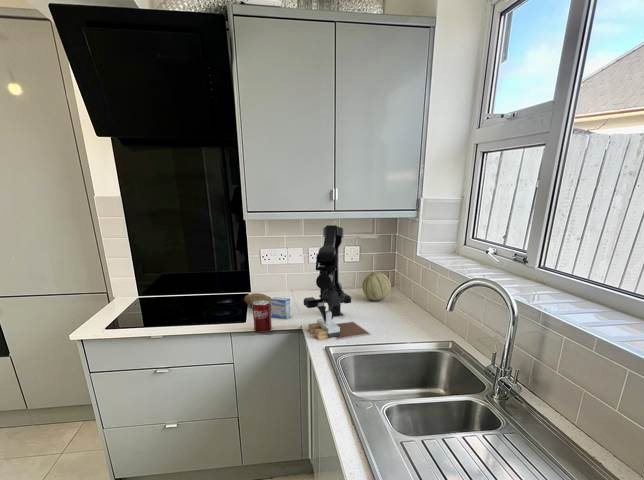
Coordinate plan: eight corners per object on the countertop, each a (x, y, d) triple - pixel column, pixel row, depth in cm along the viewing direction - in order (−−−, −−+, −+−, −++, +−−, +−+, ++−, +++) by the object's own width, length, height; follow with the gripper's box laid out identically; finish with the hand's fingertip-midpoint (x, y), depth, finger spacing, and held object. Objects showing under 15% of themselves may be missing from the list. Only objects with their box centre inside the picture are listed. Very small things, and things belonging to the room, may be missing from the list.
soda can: (266, 333, 167) (264, 305, 162) (251, 331, 169) (248, 304, 165) (274, 328, 173) (273, 301, 169) (259, 326, 176) (257, 299, 171)
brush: (317, 327, 172) (316, 308, 169) (327, 325, 174) (327, 306, 171) (328, 337, 161) (328, 316, 158) (339, 335, 163) (339, 315, 160)
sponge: (277, 314, 196) (269, 295, 212) (274, 300, 191) (266, 282, 207) (251, 321, 194) (245, 302, 209) (247, 307, 189) (241, 289, 204)
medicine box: (271, 317, 188) (270, 299, 184) (275, 314, 191) (274, 296, 188) (286, 318, 185) (285, 300, 182) (290, 316, 189) (290, 298, 186)
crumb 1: (308, 330, 170) (308, 323, 169) (317, 329, 172) (317, 322, 171) (312, 333, 167) (311, 326, 166) (321, 332, 168) (320, 325, 167)
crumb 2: (315, 336, 164) (314, 329, 163) (324, 335, 165) (324, 328, 164) (318, 339, 161) (318, 332, 159) (327, 338, 162) (327, 331, 161)
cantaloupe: (395, 299, 214) (397, 271, 209) (378, 305, 205) (379, 276, 199) (373, 294, 224) (374, 267, 218) (356, 300, 214) (356, 271, 208)
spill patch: (323, 326, 175) (323, 326, 175) (352, 322, 180) (352, 321, 180) (337, 338, 161) (337, 338, 161) (369, 334, 166) (369, 333, 166)
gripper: (311, 290, 150) (313, 330, 156) (357, 285, 156) (356, 323, 162) (302, 283, 159) (303, 321, 165) (345, 279, 166) (345, 315, 172)
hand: (327, 320), depth 166 cm, fingers closed on brush, 2 cm apart
